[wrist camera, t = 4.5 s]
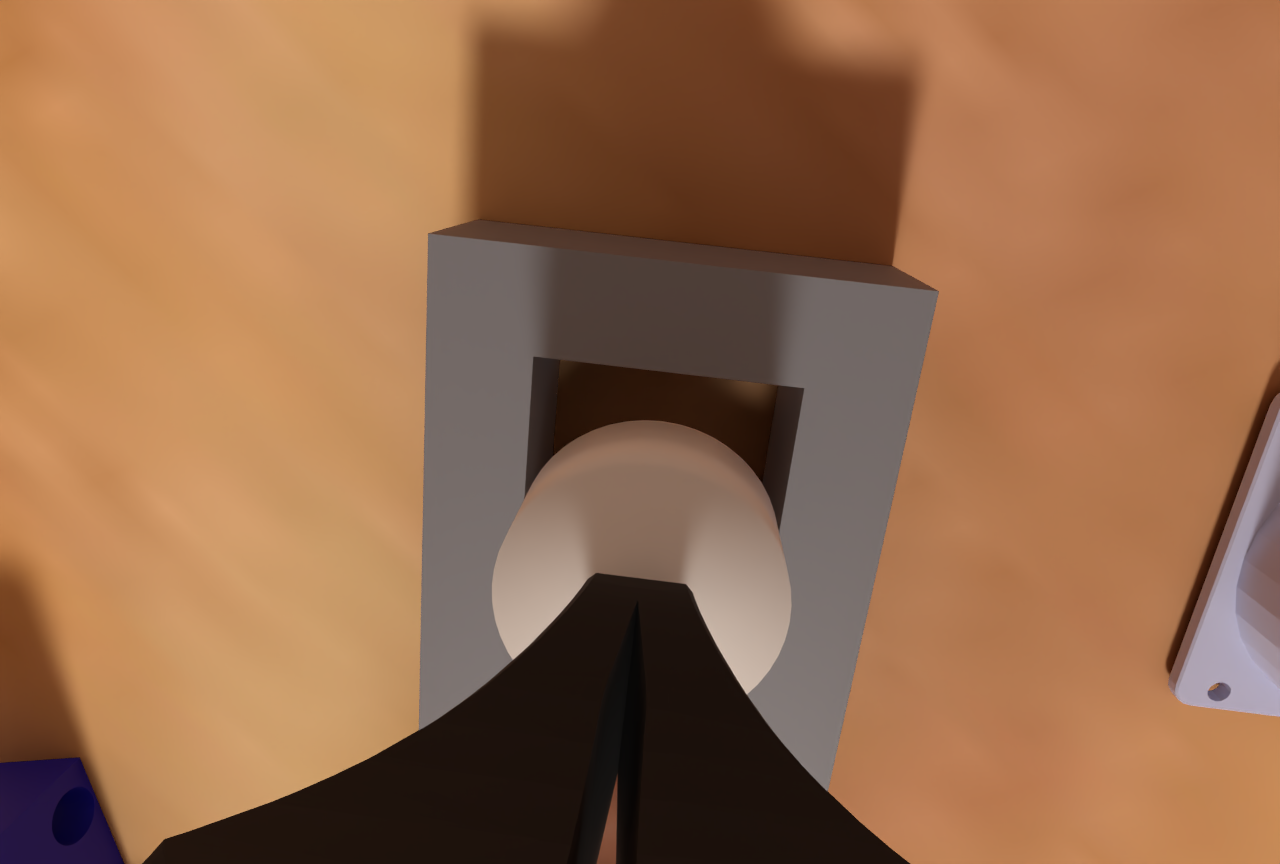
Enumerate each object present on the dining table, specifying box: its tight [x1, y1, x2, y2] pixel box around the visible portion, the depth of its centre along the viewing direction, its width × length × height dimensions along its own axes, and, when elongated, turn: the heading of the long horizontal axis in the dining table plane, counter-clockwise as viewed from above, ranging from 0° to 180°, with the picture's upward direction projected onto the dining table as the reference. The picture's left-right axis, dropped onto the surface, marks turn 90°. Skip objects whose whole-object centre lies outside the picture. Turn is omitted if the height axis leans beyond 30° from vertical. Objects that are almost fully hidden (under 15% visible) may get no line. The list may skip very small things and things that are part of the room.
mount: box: [419, 220, 939, 791], centre depth 20 cm, size 9×23×4 cm, turn 174°
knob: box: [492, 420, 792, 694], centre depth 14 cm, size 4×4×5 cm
